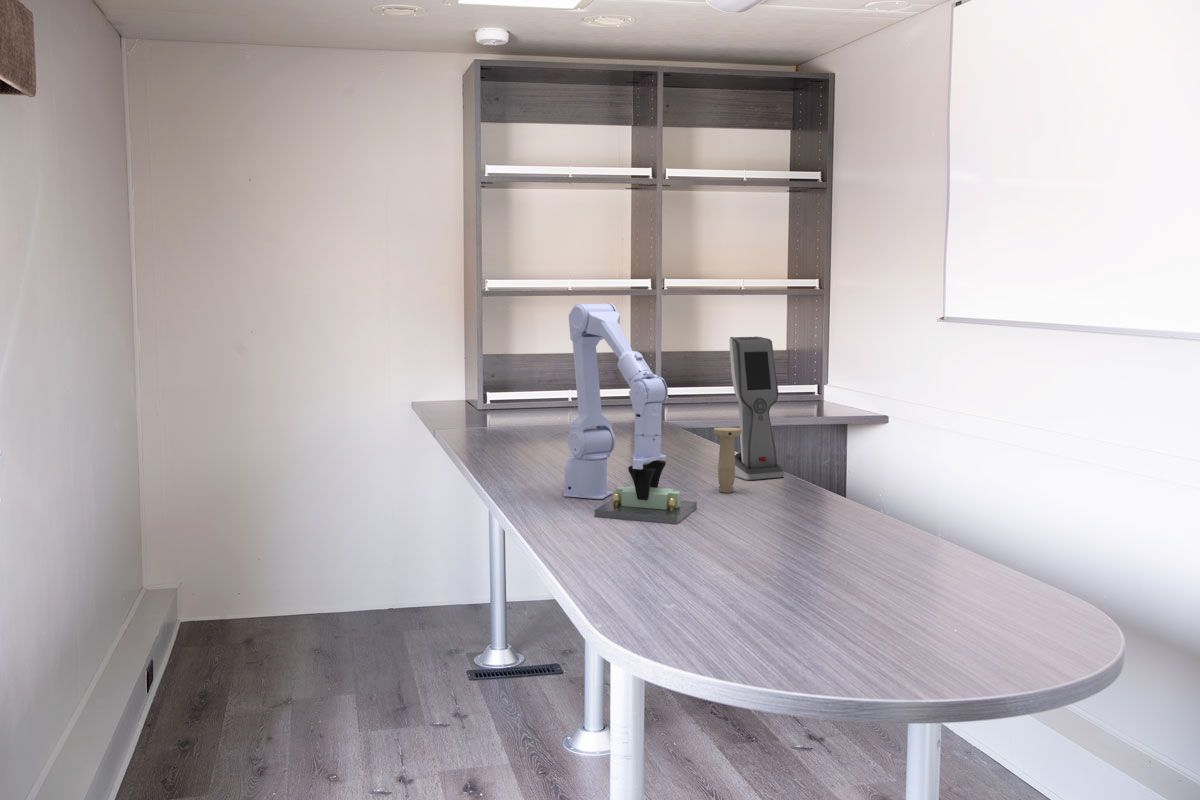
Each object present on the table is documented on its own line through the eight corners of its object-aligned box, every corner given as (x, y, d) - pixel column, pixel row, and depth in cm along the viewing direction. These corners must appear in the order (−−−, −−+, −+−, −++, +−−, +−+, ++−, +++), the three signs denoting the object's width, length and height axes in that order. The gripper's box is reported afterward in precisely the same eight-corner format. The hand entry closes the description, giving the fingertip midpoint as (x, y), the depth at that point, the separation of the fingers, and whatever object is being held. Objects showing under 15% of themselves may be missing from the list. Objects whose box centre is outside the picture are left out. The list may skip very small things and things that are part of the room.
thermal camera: (757, 469, 288) (761, 336, 284) (786, 477, 277) (791, 339, 273) (720, 472, 283) (723, 337, 279) (747, 481, 272) (751, 340, 267)
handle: (741, 493, 256) (743, 430, 255) (714, 494, 256) (716, 430, 254) (736, 489, 261) (738, 427, 259) (710, 490, 260) (711, 427, 259)
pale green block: (612, 505, 235) (612, 490, 235) (620, 499, 241) (620, 485, 240) (675, 510, 231) (675, 495, 230) (682, 504, 236) (682, 489, 236)
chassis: (594, 516, 231) (594, 498, 231) (618, 501, 246) (618, 484, 246) (677, 524, 225) (677, 505, 225) (696, 508, 240) (696, 490, 240)
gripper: (656, 440, 226) (655, 505, 227) (675, 430, 239) (673, 491, 241) (623, 438, 228) (622, 502, 230) (644, 428, 242) (643, 489, 243)
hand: (646, 496), depth 235 cm, fingers closed on pale green block, 5 cm apart
